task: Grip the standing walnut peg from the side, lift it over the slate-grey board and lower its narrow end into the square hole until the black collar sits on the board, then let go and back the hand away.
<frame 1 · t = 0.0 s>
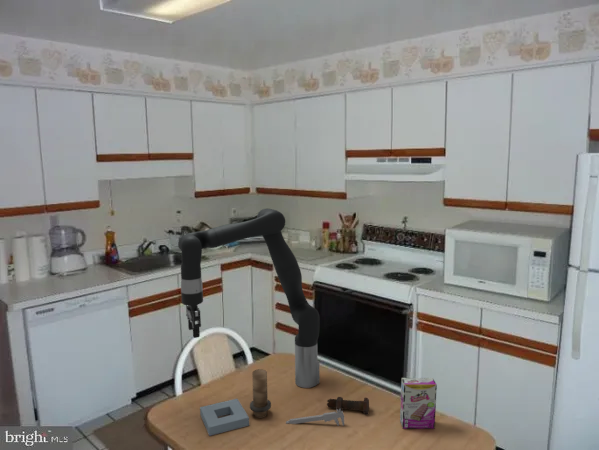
hand: (194, 333, 164), 29 cm above the table, tool pointing down, fingers open, 8 cm apart
bolt: (347, 410, 166), on the table
board: (224, 420, 160), on the table
caliper: (314, 425, 157), on the table
peg: (260, 414, 163), on the table
candy bar box: (417, 425, 155), on the table
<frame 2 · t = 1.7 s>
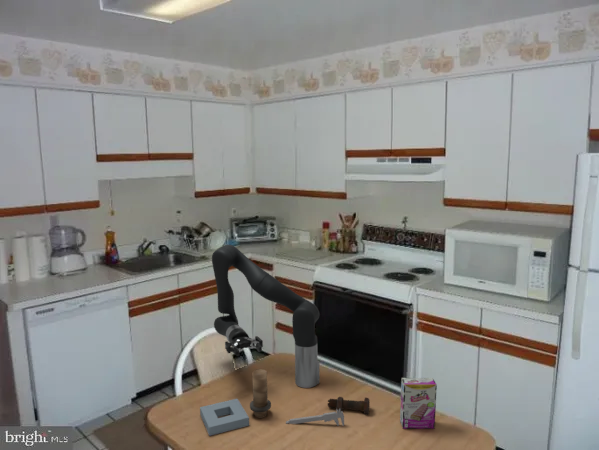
hand: (249, 351, 171), 20 cm above the table, tool horizontal, fingers open, 8 cm apart
nothing on the table moved.
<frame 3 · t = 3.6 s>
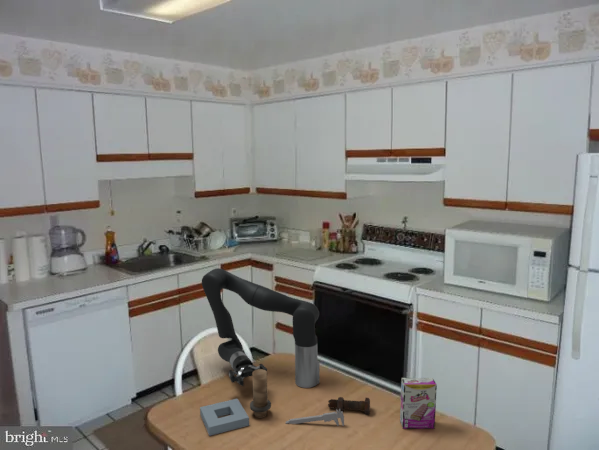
hand: (253, 381, 168), 10 cm above the table, tool horizontal, fingers open, 8 cm apart
nothing on the table moved.
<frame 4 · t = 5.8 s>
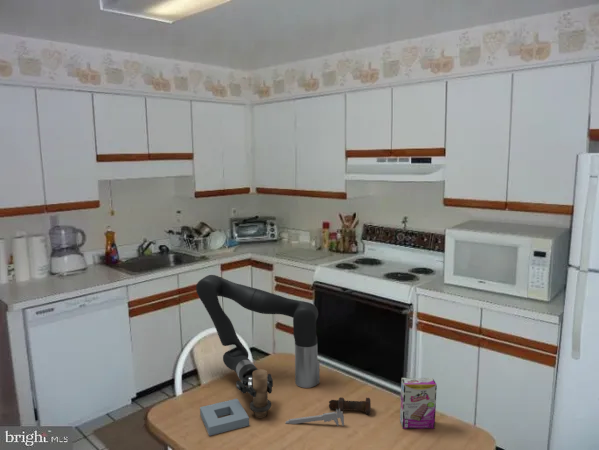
hand: (262, 392, 160), 10 cm above the table, tool horizontal, fingers closed on peg, 5 cm apart
peg: (260, 414, 163), on the table, touching gripper
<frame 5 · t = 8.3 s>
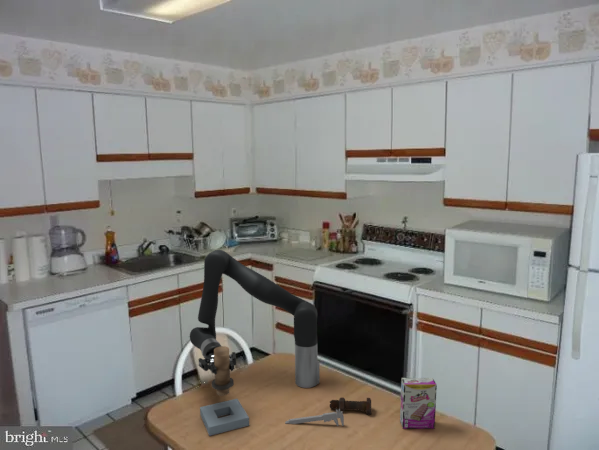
hand: (224, 369, 155), 20 cm above the table, tool horizontal, fingers closed on peg, 5 cm apart
peg: (223, 392, 159), point 10 cm above the table, touching gripper
when the fingers open (10 cm above the table, at t = 11.2 s): peg stays where it is, resting on board.
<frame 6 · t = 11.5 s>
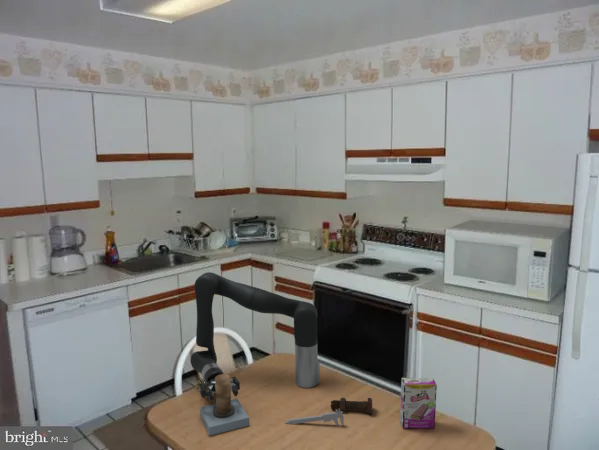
hand: (224, 396, 157), 10 cm above the table, tool horizontal, fingers open, 8 cm apart
peg: (224, 419, 160), resting on board
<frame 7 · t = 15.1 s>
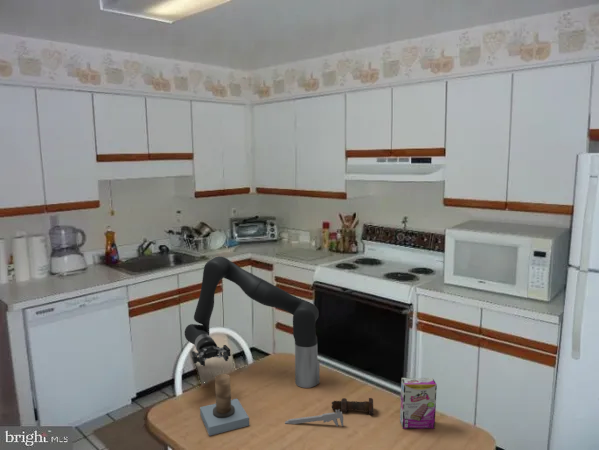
hand: (215, 361, 167), 18 cm above the table, tool horizontal, fingers open, 8 cm apart
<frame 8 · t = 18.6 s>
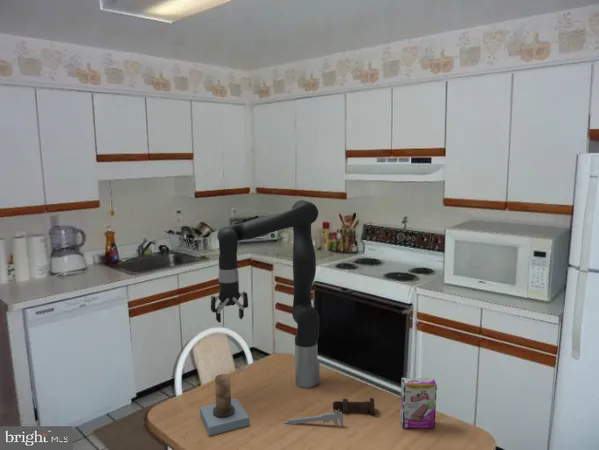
hand: (230, 320, 174), 30 cm above the table, tool pointing down, fingers open, 8 cm apart
at the end: peg 0.1 cm off-centre on the board, point 0.0 cm above the board's base; peg tilted 0°; the gripper is holding nothing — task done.
